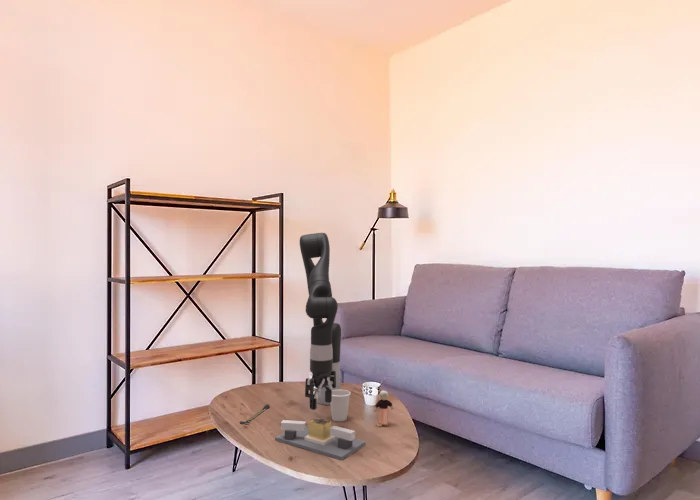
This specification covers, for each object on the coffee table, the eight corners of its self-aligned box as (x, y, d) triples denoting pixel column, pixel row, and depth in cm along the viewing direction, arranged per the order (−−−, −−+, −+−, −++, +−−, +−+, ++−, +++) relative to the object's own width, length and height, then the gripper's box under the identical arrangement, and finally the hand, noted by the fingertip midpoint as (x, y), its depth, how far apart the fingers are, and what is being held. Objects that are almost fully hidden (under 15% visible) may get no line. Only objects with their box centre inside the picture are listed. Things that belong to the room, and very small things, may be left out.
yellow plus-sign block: (331, 436, 157) (331, 420, 157) (323, 440, 153) (323, 424, 153) (316, 432, 160) (316, 416, 160) (308, 436, 156) (308, 420, 156)
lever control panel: (275, 440, 158) (275, 421, 158) (301, 427, 169) (301, 410, 169) (341, 460, 143) (342, 439, 143) (365, 444, 155) (365, 425, 155)
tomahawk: (254, 429, 170) (255, 426, 170) (238, 425, 172) (238, 422, 172) (280, 409, 190) (280, 406, 190) (265, 406, 192) (265, 403, 192)
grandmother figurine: (377, 428, 169) (377, 393, 169) (372, 424, 173) (372, 390, 173) (395, 424, 173) (395, 390, 173) (389, 421, 176) (390, 387, 176)
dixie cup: (325, 416, 181) (326, 390, 181) (346, 414, 184) (346, 388, 184) (331, 423, 173) (332, 396, 173) (353, 421, 176) (353, 394, 176)
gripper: (317, 363, 148) (317, 414, 148) (342, 354, 160) (342, 401, 160) (299, 359, 152) (298, 409, 152) (324, 351, 164) (324, 397, 164)
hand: (320, 405), depth 156 cm, fingers open, 8 cm apart
